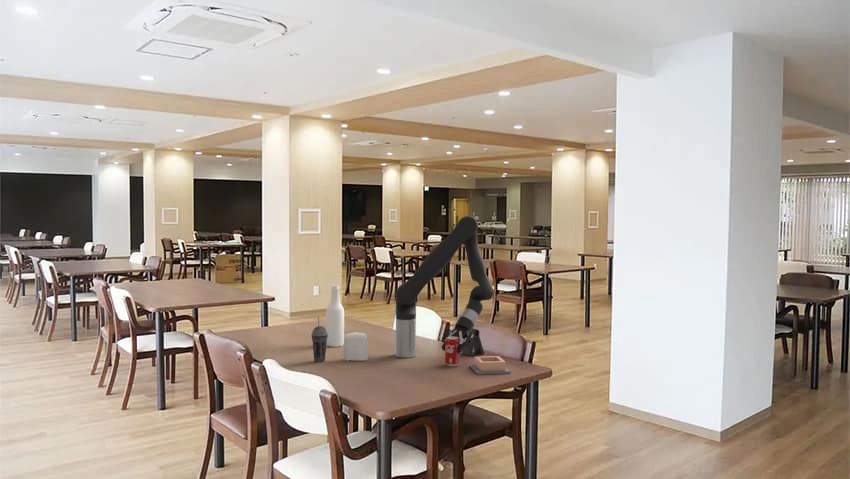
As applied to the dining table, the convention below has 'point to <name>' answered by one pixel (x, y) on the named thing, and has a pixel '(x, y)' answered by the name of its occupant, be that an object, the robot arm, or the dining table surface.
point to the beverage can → (452, 351)
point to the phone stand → (474, 345)
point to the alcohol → (335, 319)
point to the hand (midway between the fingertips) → (450, 351)
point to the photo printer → (356, 347)
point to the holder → (490, 365)
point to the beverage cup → (319, 343)
